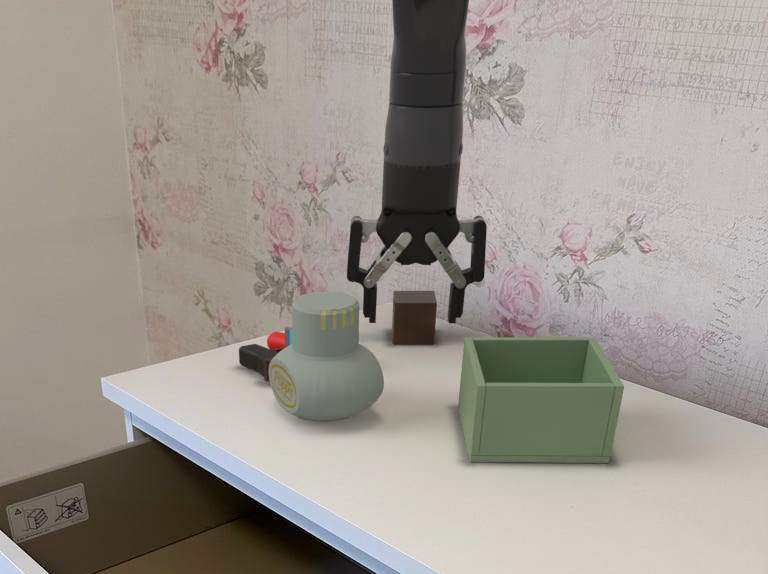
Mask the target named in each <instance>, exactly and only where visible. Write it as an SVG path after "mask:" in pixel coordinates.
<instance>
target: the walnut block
mask: <svg viewBox="0 0 768 574" xmlns="http://www.w3.org/2000/svg"><path fill="white" fill-rule="evenodd" d="M437 302H438V301H437V296H436V293H435V290H393V296H392V320H391V336H392V337H391V338H392V345H435V339H436V338H435V337H436V324H437V323H436V322H437V311H438V303H437Z"/></svg>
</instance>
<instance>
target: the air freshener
mask: <svg viewBox="0 0 768 574" xmlns="http://www.w3.org/2000/svg"><path fill="white" fill-rule="evenodd" d="M291 328H292V344H291V345H289V346H287V347H286V348H284V349H283V350H281V351H280V352H279V353H278V354H277V355H276V356H275V357H274V358H273V359H272V360H271V362H270V364H269V381H270V382H269V384H270V388H271V391H272V393H273V396H274V398H275V399H276V401H277V403H278V404H279V405H280V407H281V408H282V409H283V410H284V411H285V412H286V413H288V414H291V415H293V416H295V417H296V418H298V419H301V420H306V421H313V422H336V421H341V420H346V419H349V418H352V417H355V416H358V415H359V414H361V413H363V412H365V411H367V410H368V409H369V408H370V407H372V406H373V405H374V404H375V403H376V402H377V401H378V400H379V398H380V397H381V396H382V394H383V391H384V387H385V378H384V373H383V369H382V367H381V365H380V363H379V361H378V359H377V357H376V356H375V355H374V353H373V352H372V351H371V350H370V349H369V348H368V347H366V346H364V345H362V344H361V343H360V302H359V301H358V299H357V298H356V297H355V296H354V295H351V294H349V293H345V292H339V291H314V292H313V291H312V292H308V293H304V294H302V295H299V296H298V297H296V298H295V299H294V300H293V301H292V303H291Z"/></svg>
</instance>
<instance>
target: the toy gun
mask: <svg viewBox="0 0 768 574" xmlns="http://www.w3.org/2000/svg"><path fill="white" fill-rule="evenodd" d="M266 344H267V345H266V346H267V347H268V348H267V347H265V346H262V345H260V344H258V343H252V344H245V345H241V346H240V347H239V348H238V361H239V362H238V363H239V365H240V366H242V367H244V368H246V369H248V370H250V371H254V372H257V373H258V374H259V375H261V376H262V377H263V380H264V381H266V382H267V383H270V381H269V364H270V362H271V360H272V359H273V358H274V357H275V356H276V355H277V354H278V353H279V352H280V351H281V350H283V349H284V348H286V347H287V346H289V345H291V344H292V327H289V326H285V327H284V332H282V331H273V332H271V333H270V334H269V335H268V336H267V339H266Z"/></svg>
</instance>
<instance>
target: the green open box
mask: <svg viewBox="0 0 768 574" xmlns="http://www.w3.org/2000/svg"><path fill="white" fill-rule="evenodd" d="M461 360H462V361H461V371H460V372H461V373H460V382H459V393H458V403H457V409H458V414H459V419H460V423H461V427H462V428H461V429H462V434H463V437H464V441H465V446H466V452H467V457H468V460H469V462H470V463H549V464H550V463H551V464H552V463H554V464H557V463H559V464H560V463H562V464H563V463H564V464H565V463H566V464H567V463H568V464H569V463H571V464H609V463H610V461H611V455H612V451H613V450H612V449H613V446H614V441H615V435H616V430H617V425H618V420H619V415H620V412H621V411H620V410H621V405H622V401H623V395H624V389H625V385H624V384H623V381H622V380H621V378H620V376H619V375H618V373H617V372H616V370H615V368H614V366H613V365H612V363H611V361H610V360H609V358H608V357H607V354H606V353H605V351H604V350H603V348H602V347H601V344H600V343H599V341H598V340H597V338H596V337H594V336H589V337H588V336H586V337H585V336H583V337H582V336H579V337H577V336H576V337H574V336H573V337H572V336H571V337H569V336H568V337H567V336H565V337H562V336H560V337H558V336H556V337H555V336H553V337H552V336H550V337H549V336H541V337H539V336H533V337H532V336H531V337H530V336H526V337H525V336H523V337H522V336H521V337H520V336H516V337H515V336H514V337H513V336H507V337H506V336H505V337H504V336H503V337H501V336H500V337H499V336H494V337H493V336H478V337H477V336H476V337H474V336H473V337H471V336H470V337H469V336H467V337H464V339H463V350H462V359H461Z"/></svg>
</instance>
